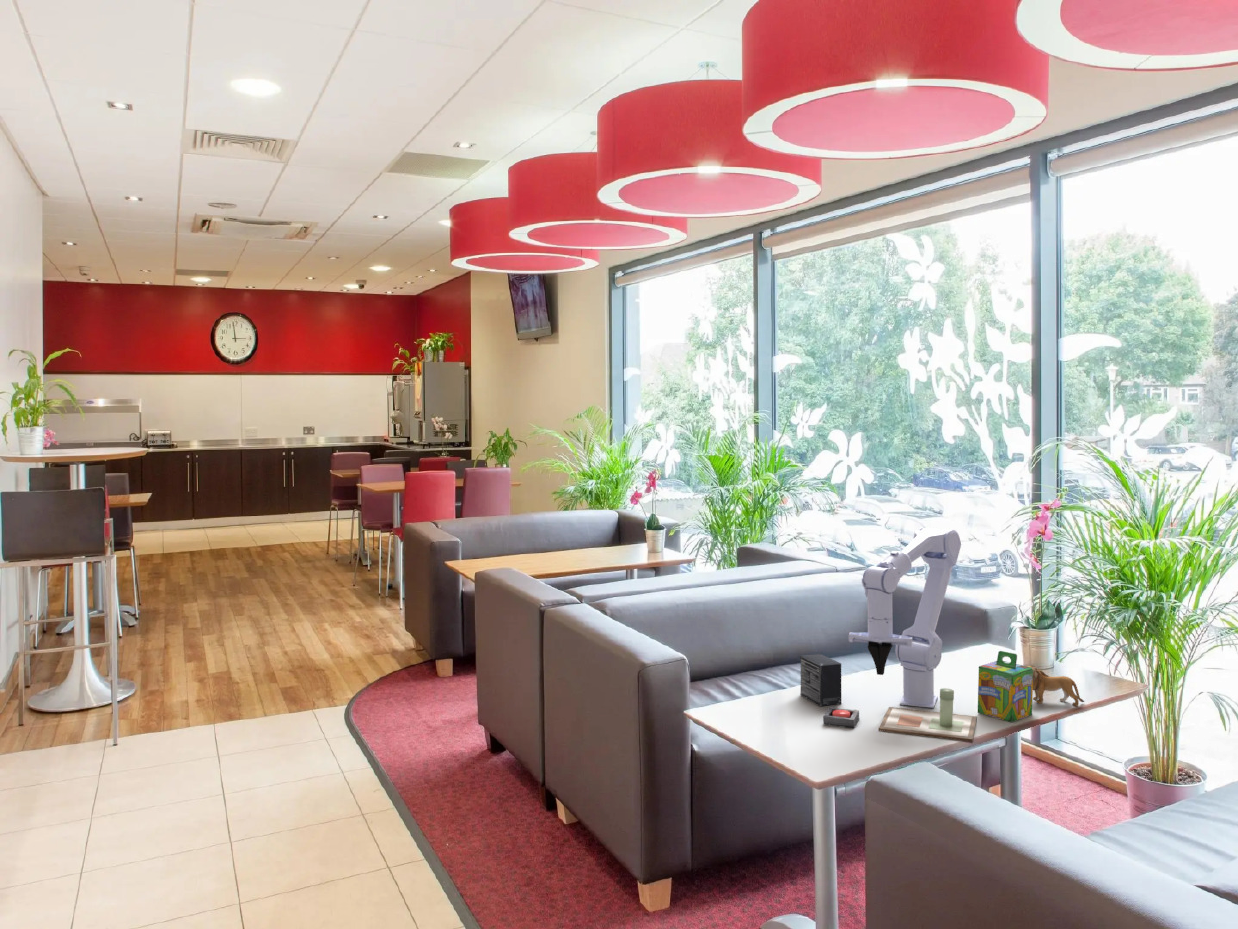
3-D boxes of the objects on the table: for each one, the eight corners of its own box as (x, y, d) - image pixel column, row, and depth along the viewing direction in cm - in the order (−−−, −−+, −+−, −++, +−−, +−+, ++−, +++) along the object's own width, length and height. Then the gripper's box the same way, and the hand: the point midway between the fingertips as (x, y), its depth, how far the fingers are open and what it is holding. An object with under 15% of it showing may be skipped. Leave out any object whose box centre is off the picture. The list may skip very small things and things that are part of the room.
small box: (843, 704, 227) (843, 662, 226) (820, 707, 225) (820, 665, 224) (821, 692, 237) (821, 652, 236) (799, 695, 235) (798, 655, 234)
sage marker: (939, 721, 210) (940, 687, 209) (952, 723, 209) (953, 689, 208) (938, 726, 207) (939, 691, 207) (952, 727, 206) (953, 693, 205)
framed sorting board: (889, 709, 222) (888, 706, 222) (976, 719, 214) (976, 715, 214) (878, 730, 208) (878, 727, 208) (972, 742, 199) (972, 738, 199)
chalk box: (976, 713, 218) (976, 652, 217) (997, 705, 223) (997, 646, 222) (1013, 723, 210) (1013, 660, 209) (1034, 715, 216) (1034, 653, 215)
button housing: (829, 715, 219) (829, 707, 219) (859, 719, 216) (859, 710, 216) (823, 724, 212) (823, 716, 212) (853, 728, 209) (853, 720, 209)
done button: (834, 716, 217) (834, 709, 217) (851, 718, 215) (851, 711, 215) (831, 721, 213) (831, 714, 213) (848, 723, 211) (848, 716, 211)
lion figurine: (1022, 704, 223) (1022, 668, 223) (1017, 697, 229) (1017, 662, 228) (1087, 707, 220) (1087, 670, 220) (1081, 700, 225) (1081, 664, 225)
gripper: (845, 618, 215) (846, 675, 216) (909, 623, 209) (910, 681, 210) (851, 612, 222) (852, 667, 222) (913, 616, 215) (913, 673, 216)
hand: (880, 673), depth 216 cm, fingers closed
